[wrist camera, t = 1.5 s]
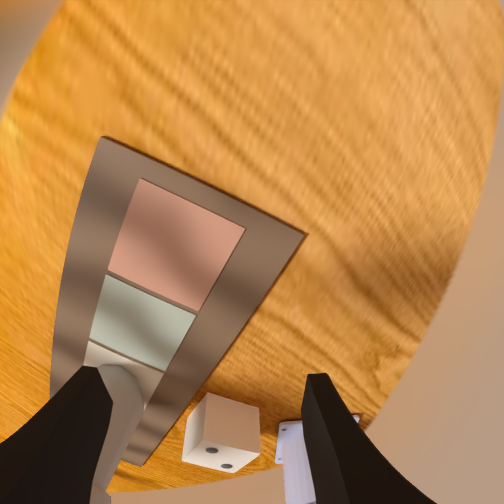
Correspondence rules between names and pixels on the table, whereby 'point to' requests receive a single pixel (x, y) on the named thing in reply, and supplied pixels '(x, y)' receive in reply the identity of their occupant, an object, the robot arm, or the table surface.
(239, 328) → the game board
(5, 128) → the table surface
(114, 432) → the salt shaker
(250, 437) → the die
